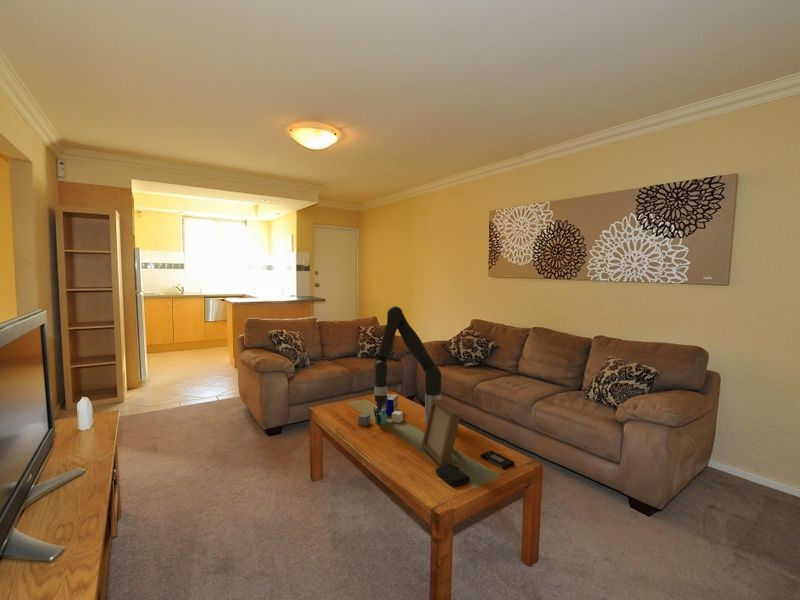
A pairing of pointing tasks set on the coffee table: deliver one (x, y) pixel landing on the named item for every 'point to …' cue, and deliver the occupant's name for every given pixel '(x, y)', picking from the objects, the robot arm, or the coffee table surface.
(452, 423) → the photo frame
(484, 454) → the vhs tape
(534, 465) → the coffee table surface
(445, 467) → the carrying case or bag
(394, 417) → the off-white block
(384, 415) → the teal block
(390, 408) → the puzzle cube
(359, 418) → the charcoal block
